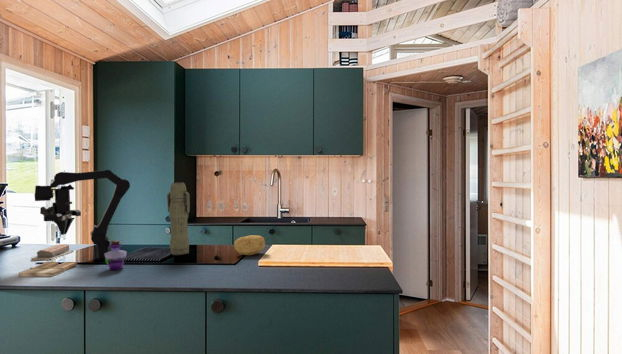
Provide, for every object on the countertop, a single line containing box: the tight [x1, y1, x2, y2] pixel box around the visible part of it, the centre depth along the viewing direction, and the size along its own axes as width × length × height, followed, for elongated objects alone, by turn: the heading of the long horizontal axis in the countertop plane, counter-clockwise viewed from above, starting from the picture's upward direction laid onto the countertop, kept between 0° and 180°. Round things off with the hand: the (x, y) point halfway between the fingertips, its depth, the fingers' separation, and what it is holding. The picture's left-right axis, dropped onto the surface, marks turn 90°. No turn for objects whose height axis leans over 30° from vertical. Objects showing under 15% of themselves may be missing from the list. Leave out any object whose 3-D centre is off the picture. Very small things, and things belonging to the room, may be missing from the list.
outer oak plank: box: [32, 261, 60, 268], centre depth 176 cm, size 5×9×1 cm, turn 177°
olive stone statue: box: [166, 181, 191, 256], centre depth 203 cm, size 9×12×35 cm
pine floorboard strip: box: [18, 267, 65, 277], centre depth 168 cm, size 14×7×2 cm, turn 87°
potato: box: [233, 234, 266, 256], centre depth 198 cm, size 10×14×10 cm
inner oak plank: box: [53, 261, 78, 272], centre depth 176 cm, size 5×9×1 cm, turn 177°
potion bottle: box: [104, 240, 128, 271], centre depth 174 cm, size 9×9×12 cm
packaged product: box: [30, 243, 74, 262], centre depth 201 cm, size 18×5×10 cm
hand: (63, 234), depth 185 cm, fingers closed
